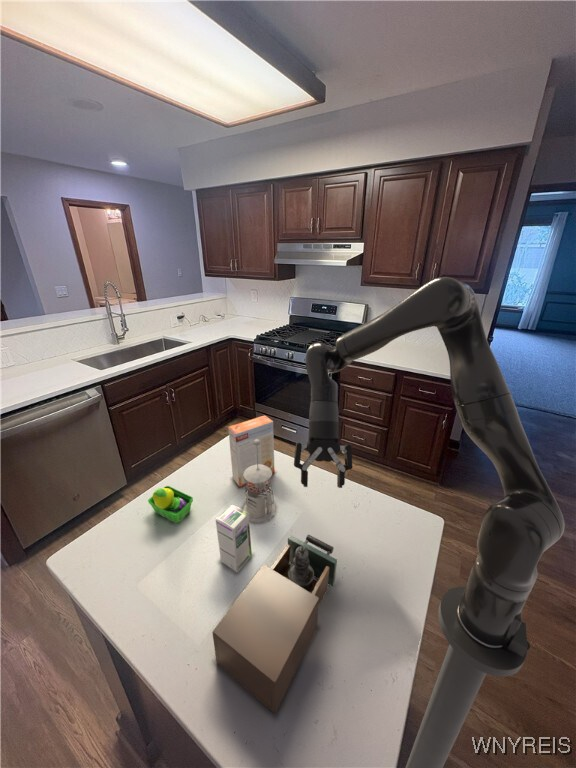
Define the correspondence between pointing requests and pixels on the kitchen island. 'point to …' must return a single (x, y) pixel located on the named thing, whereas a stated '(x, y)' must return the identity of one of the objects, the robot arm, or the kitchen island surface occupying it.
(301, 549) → the stone chess piece
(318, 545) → the drawer
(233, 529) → the syrup box
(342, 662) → the kitchen island surface
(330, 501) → the kitchen island surface
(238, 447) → the cracker box
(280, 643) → the cabinet
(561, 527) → the robot arm
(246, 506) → the french press
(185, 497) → the fruit basket
